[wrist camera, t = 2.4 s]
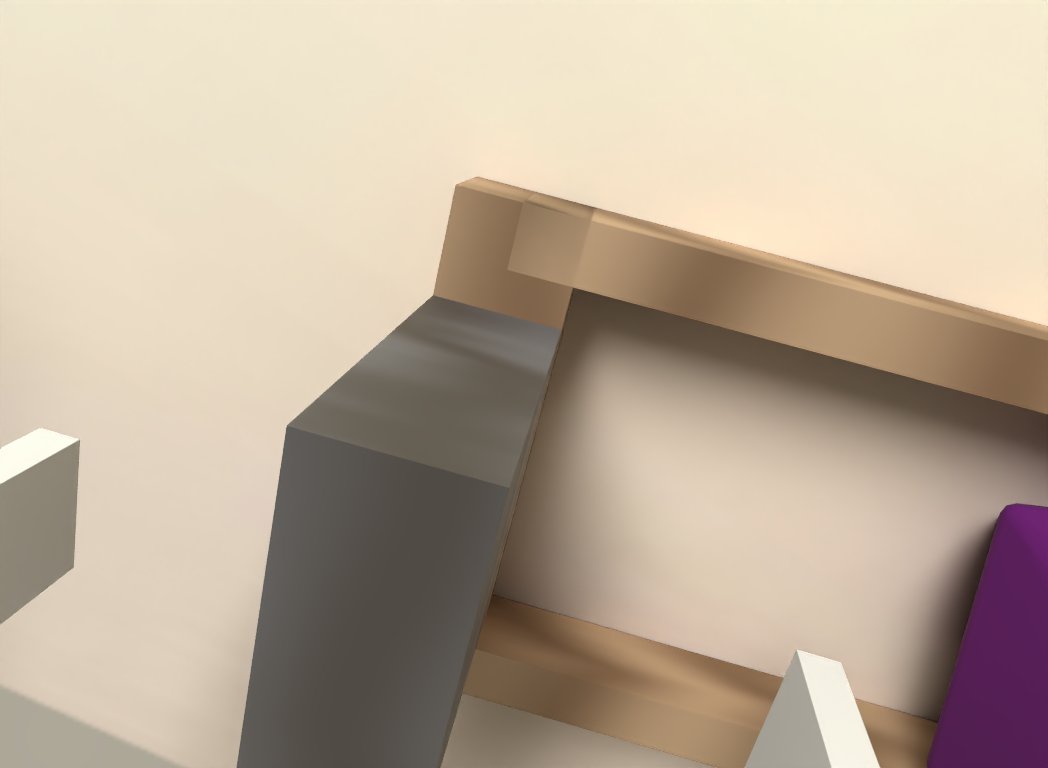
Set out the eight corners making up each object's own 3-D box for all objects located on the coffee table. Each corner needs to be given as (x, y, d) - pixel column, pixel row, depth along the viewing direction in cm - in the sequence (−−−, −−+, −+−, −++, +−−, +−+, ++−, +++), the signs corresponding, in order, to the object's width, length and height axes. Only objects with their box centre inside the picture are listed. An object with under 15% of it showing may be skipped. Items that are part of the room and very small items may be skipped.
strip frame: (385, 608, 24) (209, 959, 14) (477, 177, 19) (313, 237, 9) (1198, 842, 23) (1638, 1405, 13) (1493, 443, 18) (2523, 831, 8)
